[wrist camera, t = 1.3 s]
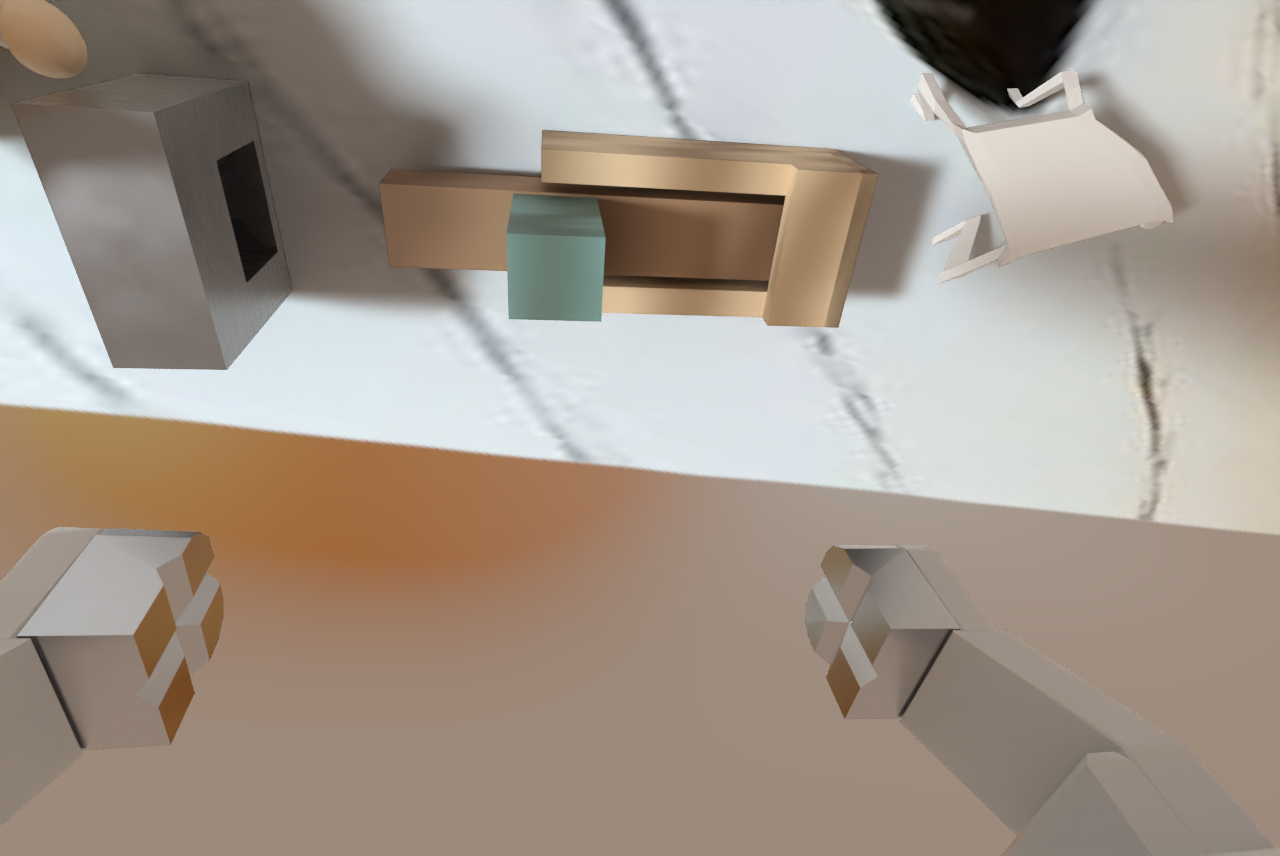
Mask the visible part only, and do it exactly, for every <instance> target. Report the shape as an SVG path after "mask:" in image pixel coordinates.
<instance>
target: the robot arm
mask: <svg viewBox="0 0 1280 856" xmlns="http://www.w3.org/2000/svg"><path fill="white" fill-rule="evenodd" d="M213 559H214V554H213V550H212V546H211V543H210V539H209V536H207V535H205V534H203V533H201V532H186V531H162V530H137V529H113V528H108V529H91V528H70V527H57V528H55V529H53V530H50V531H48V532H46V533H44V534H43V535H42V536H41V537H40V538H39V539H38V540H37V541H36V542H35V544H34V545H33V546H32V547H31V548H30V549H29V550H28V551H27V553H26V554H25V555H24V556H23V557H22V558H21V559H20V561H19V562H18V563H17V564H16V565H15V566H14V567H13V569H12V570H11V571H10V572H9V573H8V574H7V575H6V576H5V578H4V579H3V580H2V581H1V582H0V826H1V825H3V824H4V823H5V822H6V821H7V820H8V819H10V818H11V817H12V816H13V815H14V814H15V813H16V812H18V811H19V810H20V809H21V808H22V807H23V806H25V805H26V804H27V803H28V802H29V801H30V800H32V799H33V798H34V797H35V796H36V795H37V794H38V793H40V792H41V791H42V790H43V789H44V788H45V787H47V786H48V785H49V784H50V783H51V782H52V781H54V780H55V779H56V778H57V777H58V776H59V775H61V774H62V773H63V772H64V771H65V770H66V769H67V768H69V767H70V766H71V765H72V764H73V763H74V762H76V761H77V760H78V759H79V758H80V757H81V756H83V752H82V750H98V749H114V748H128V747H129V748H130V747H146V746H161V745H171V743H172V741H173V739H174V737H175V735H176V732H177V730H178V728H179V726H180V724H181V721H182V720H183V717H184V715H185V713H186V711H187V709H188V707H189V704H190V702H191V700H192V698H193V696H194V694H195V692H194V688H193V685H192V682H191V677H190V675H191V674H193V673H194V672H195V671H196V670H198V669H199V668H201V667H202V666H203V665H205V664H206V663H207V662H209V661H210V659H211V657H212V654H213V652H214V650H215V647H216V645H217V643H218V640H219V636H220V631H221V627H222V622H223V617H224V599H223V593H222V588H221V584H220V583H219V582H218V581H216V580H215V579H214V578H213V577H211V576H210V575H209V574H208V573H207V570H208V568H209V566H210V564H211V562H212V560H213ZM821 567H822V569H823V571H824V574H825V576H826V577H824V578H823V579H822V580H821V581H819V582H818V583H817V584H815V585H814V586H813V587H812V588H811V590H810V594H809V596H808V599H807V602H806V608H805V609H806V610H805V624H806V629H807V633H808V638H809V640H810V642H811V645H812V647H813V649H814V652H816V653H817V654H818V655H819V656H820V657H822V658H823V659H824V660H825V661H827V662H828V663H829V664H830V667H829V670H828V674H827V677H826V679H827V681H828V683H829V686H830V688H831V690H832V692H833V694H834V696H835V699H836V701H837V703H838V705H839V708H840V710H841V712H842V714H843V716H844V719H901V720H900V722H901V723H902V724H903V725H904V726H905V727H906V728H907V729H908V730H909V731H910V732H911V733H912V734H913V735H914V736H915V737H916V738H917V739H918V740H919V741H920V742H921V743H922V744H923V745H924V746H925V747H926V748H927V749H928V750H929V751H930V752H931V753H932V754H933V755H934V756H936V757H937V758H938V759H939V760H940V761H941V762H942V763H943V764H944V765H945V766H946V767H947V768H948V769H949V770H950V771H951V772H952V773H953V774H954V775H955V776H956V777H957V778H958V779H959V780H960V781H961V782H962V783H963V784H964V785H965V786H966V787H967V788H968V789H969V790H970V791H971V792H972V793H973V794H975V796H976V797H978V798H979V799H980V800H981V801H982V802H983V803H984V804H985V805H986V806H987V807H988V808H989V809H990V810H991V811H992V812H993V813H994V814H995V815H996V816H997V817H998V818H999V819H1000V820H1001V821H1002V822H1003V823H1004V824H1005V825H1006V826H1007V827H1008V828H1009V829H1010V830H1011V831H1012V832H1013V833H1014V834H1015V835H1016V836H1017V837H1016V838H1015V839H1014V840H1013V841H1012V843H1011V844H1010V845H1009V846H1008V847H1007V848H1006V850H1005V851H1004V852H1003V853H1002V854H1001V855H1000V856H1280V847H1277V848H1276V847H1275V846H1274V845H1273V844H1272V843H1271V842H1270V840H1269V839H1268V838H1267V837H1266V836H1265V835H1264V834H1263V833H1262V831H1261V830H1260V829H1259V828H1258V827H1257V826H1256V824H1255V823H1254V822H1253V821H1252V820H1251V819H1250V818H1249V816H1248V815H1247V814H1246V813H1245V812H1244V811H1243V810H1242V808H1241V807H1240V806H1239V805H1238V804H1237V803H1236V802H1235V801H1234V799H1233V798H1232V797H1231V796H1230V795H1229V794H1228V793H1227V791H1226V790H1225V789H1224V788H1223V787H1222V786H1221V785H1220V783H1219V782H1218V781H1217V780H1216V779H1215V778H1214V777H1213V775H1212V774H1211V773H1210V772H1209V771H1208V770H1207V769H1206V768H1205V767H1204V765H1203V764H1202V763H1201V762H1200V761H1199V759H1198V758H1197V757H1196V756H1195V755H1194V754H1193V753H1192V751H1190V749H1189V748H1188V747H1187V746H1186V745H1185V744H1183V743H1181V742H1180V741H1178V740H1177V739H1175V738H1174V737H1172V736H1170V735H1169V734H1167V733H1166V732H1164V731H1163V730H1161V729H1159V728H1158V727H1156V726H1155V725H1153V724H1152V723H1150V722H1149V721H1147V720H1146V719H1144V718H1142V717H1141V716H1139V715H1138V714H1136V713H1135V712H1133V711H1131V710H1130V709H1128V708H1126V707H1125V706H1124V705H1122V704H1121V703H1119V702H1117V701H1116V700H1114V699H1113V698H1111V697H1109V696H1108V695H1106V694H1105V693H1103V692H1102V691H1100V690H1099V689H1097V688H1095V687H1094V686H1092V685H1091V684H1089V683H1088V682H1086V681H1085V680H1083V679H1082V678H1080V677H1078V676H1077V675H1075V674H1074V673H1072V672H1071V671H1069V670H1067V669H1066V668H1064V667H1063V666H1061V665H1059V664H1058V663H1057V662H1055V661H1054V660H1052V659H1050V658H1049V657H1047V656H1046V655H1044V654H1043V653H1041V652H1039V651H1038V650H1036V649H1035V648H1033V647H1032V646H1030V645H1029V644H1027V643H1025V642H1023V641H1022V640H1021V639H1019V638H1018V637H1016V636H1014V635H1013V634H1011V633H1010V632H1008V631H1007V630H996V629H995V627H994V626H993V625H992V623H991V622H990V621H989V619H988V618H987V617H986V615H985V614H984V613H983V611H982V610H981V609H980V607H979V606H978V605H977V603H976V602H975V601H974V599H973V598H972V597H971V595H970V594H969V593H968V591H967V590H966V589H965V587H964V586H963V585H962V583H961V582H960V581H959V579H958V578H957V577H956V575H955V574H954V573H953V571H952V570H951V569H950V567H949V566H948V565H947V563H946V562H945V561H944V559H943V558H942V557H941V555H940V554H939V552H937V551H936V550H935V549H933V548H931V547H930V546H853V545H852V546H851V545H833V546H832V547H831V548H830V549H829V550H828V551H827V552H826V554H825V556H824V559H823V561H822V563H821Z"/></svg>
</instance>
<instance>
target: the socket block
mask: <svg viewBox="0 0 1280 856" xmlns="http://www.w3.org/2000/svg"><path fill="white" fill-rule="evenodd" d="M11 105H12V108H13V110H14V113H15V116H16V118H17V121H18V123H19V126H20V129H21V131H22V134H23V136H24V139H25V141H26V144H27V147H28V149H29V152H30V154H31V157H32V159H33V162H34V165H35V167H36V170H37V172H38V175H39V177H40V180H41V183H42V185H43V188H44V190H45V193H46V195H47V198H48V201H49V203H50V206H51V208H52V211H53V213H54V216H55V219H56V221H57V224H58V226H59V229H60V231H61V234H62V237H63V239H64V242H65V244H66V247H67V249H68V252H69V255H70V257H71V260H72V262H73V265H74V268H75V270H76V273H77V275H78V278H79V280H80V283H81V286H82V288H83V291H84V293H85V296H86V298H87V301H88V304H89V306H90V309H91V311H92V314H93V316H94V319H95V322H96V324H97V327H98V329H99V332H100V334H101V337H102V340H103V342H104V345H105V347H106V350H107V352H108V355H109V358H110V360H111V363H112V365H113V368H154V369H214V370H227V369H228V368H229V367H230V365H231V364H232V363H233V362H234V361H235V359H236V358H237V357H238V356H239V355H240V353H241V352H242V351H243V350H244V348H245V347H246V346H247V345H248V344H249V342H250V341H251V340H252V339H253V338H254V336H255V335H256V334H257V333H258V332H259V330H260V329H261V328H262V327H263V326H264V324H265V323H266V322H267V321H268V320H269V318H270V317H271V316H272V315H273V313H274V312H275V311H276V310H277V309H278V307H279V306H280V305H281V304H282V303H283V301H284V300H285V299H286V298H287V297H288V295H289V294H290V293H291V292H292V288H291V283H290V278H289V274H288V269H287V264H286V260H285V255H284V250H283V245H282V241H281V236H280V231H279V226H278V222H277V217H276V212H275V207H274V203H273V198H272V193H271V188H270V184H269V179H268V174H267V170H266V165H265V160H264V155H263V151H262V146H261V141H260V136H259V132H258V127H257V122H256V117H255V113H254V108H253V103H252V98H251V94H250V89H249V84H248V81H244V80H230V79H216V78H202V77H188V76H174V75H160V74H146V73H140V74H136V75H132V76H127V77H123V78H118V79H114V80H110V81H105V82H101V83H96V84H92V85H88V86H83V87H79V88H74V89H70V90H66V91H61V92H57V93H52V94H48V95H44V96H39V97H35V98H31V99H26V100H22V101H17V102H13V103H11Z"/></svg>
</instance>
